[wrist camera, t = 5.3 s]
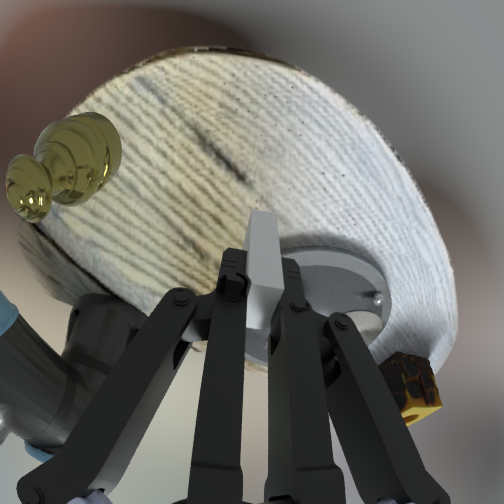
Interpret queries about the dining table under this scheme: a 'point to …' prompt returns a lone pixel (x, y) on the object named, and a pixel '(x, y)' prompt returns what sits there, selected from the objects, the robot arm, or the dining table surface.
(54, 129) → the gold pawn
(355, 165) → the dining table surface
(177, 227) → the dining table surface
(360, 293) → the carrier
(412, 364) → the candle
